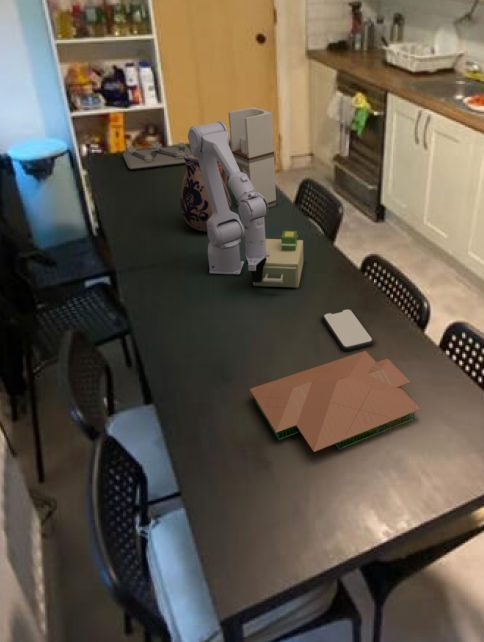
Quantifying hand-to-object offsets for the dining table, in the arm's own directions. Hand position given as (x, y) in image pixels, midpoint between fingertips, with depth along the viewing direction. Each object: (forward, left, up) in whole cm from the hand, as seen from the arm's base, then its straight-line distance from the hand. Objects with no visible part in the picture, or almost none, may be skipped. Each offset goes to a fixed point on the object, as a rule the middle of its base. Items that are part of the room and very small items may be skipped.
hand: (257, 280), depth 165 cm
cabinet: (+5, +10, -3) cm, 11 cm away
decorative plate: (-63, +108, -3) cm, 125 cm away
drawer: (+5, +6, -2) cm, 8 cm away
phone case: (+27, -19, -3) cm, 33 cm away
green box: (+8, +13, +5) cm, 16 cm away
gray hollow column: (-11, +62, -3) cm, 63 cm away
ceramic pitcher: (-24, +43, -3) cm, 49 cm away
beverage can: (-31, +90, -3) cm, 95 cm away
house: (+26, -48, -3) cm, 55 cm away
